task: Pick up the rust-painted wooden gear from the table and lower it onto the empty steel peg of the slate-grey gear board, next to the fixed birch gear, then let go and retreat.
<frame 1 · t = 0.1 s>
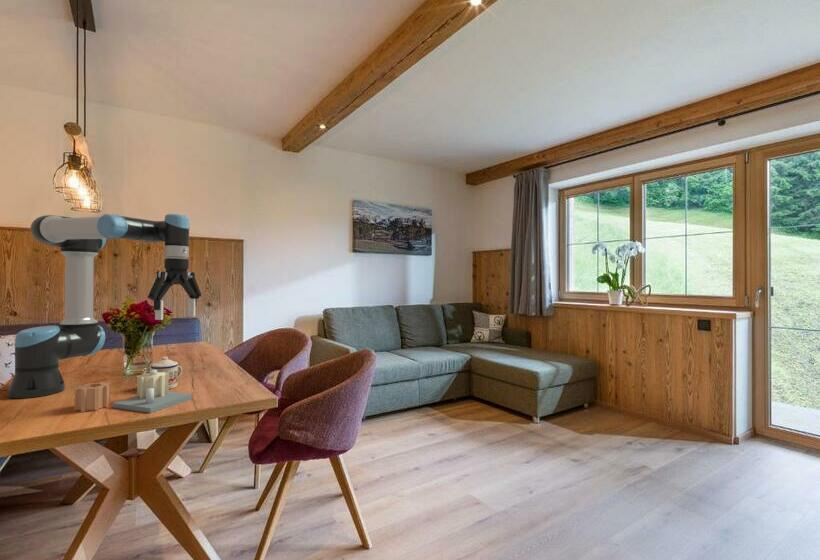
hand: (176, 318, 143), 28 cm above the table, tool pointing down, fingers open, 13 cm apart
gear board: (153, 402, 135), on the table
teacup with lid: (167, 387, 155), on the table
loose gear: (92, 407, 130), on the table
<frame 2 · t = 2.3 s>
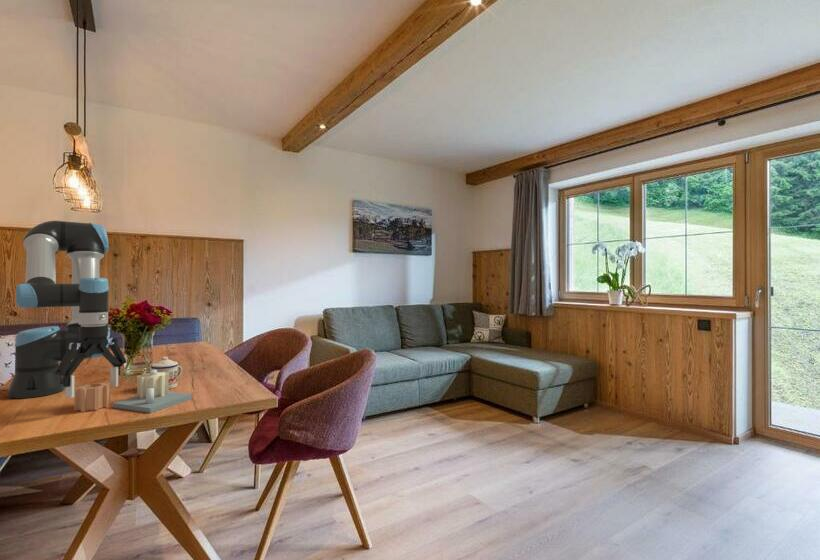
hand: (93, 391, 129), 5 cm above the table, tool pointing down, fingers open, 13 cm apart
nothing on the table moved.
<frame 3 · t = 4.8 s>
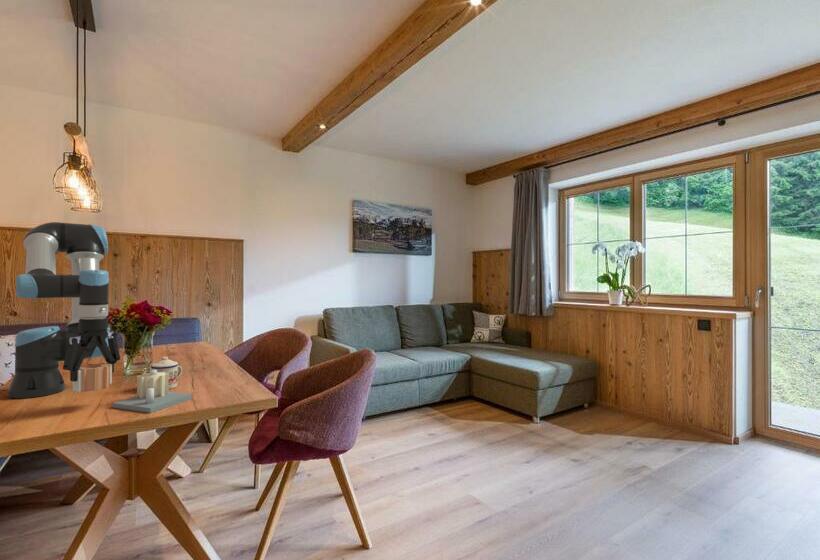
hand: (92, 386, 130), 6 cm above the table, tool pointing down, fingers closed on loose gear, 9 cm apart
loose gear: (92, 387, 130), point 6 cm above the table, touching gripper
everything else where it was.
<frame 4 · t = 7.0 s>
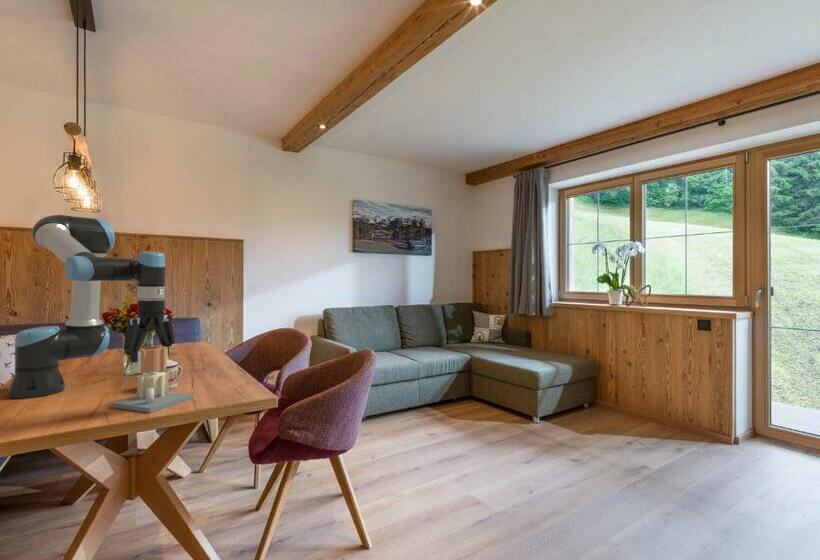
hand: (150, 369, 131), 13 cm above the table, tool pointing down, fingers closed on loose gear, 9 cm apart
loose gear: (150, 369, 131), point 12 cm above the table, touching gripper
everything else where it was.
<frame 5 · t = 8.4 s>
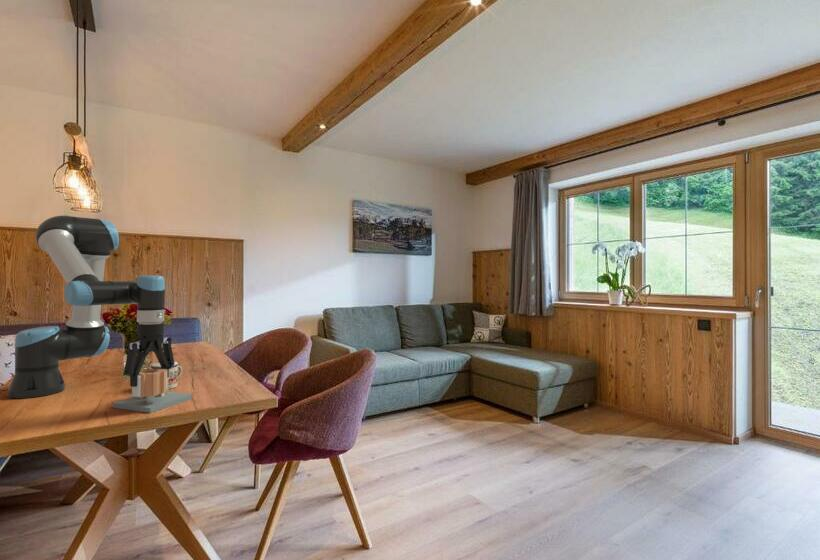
hand: (150, 392, 131), 5 cm above the table, tool pointing down, fingers closed on loose gear, 9 cm apart
loose gear: (150, 392, 131), point 5 cm above the table, touching gripper
everything else where it was.
when the fingers open (3 cm above the table, at t = 9.4 s): loose gear drops 1 cm, resting on gear board.
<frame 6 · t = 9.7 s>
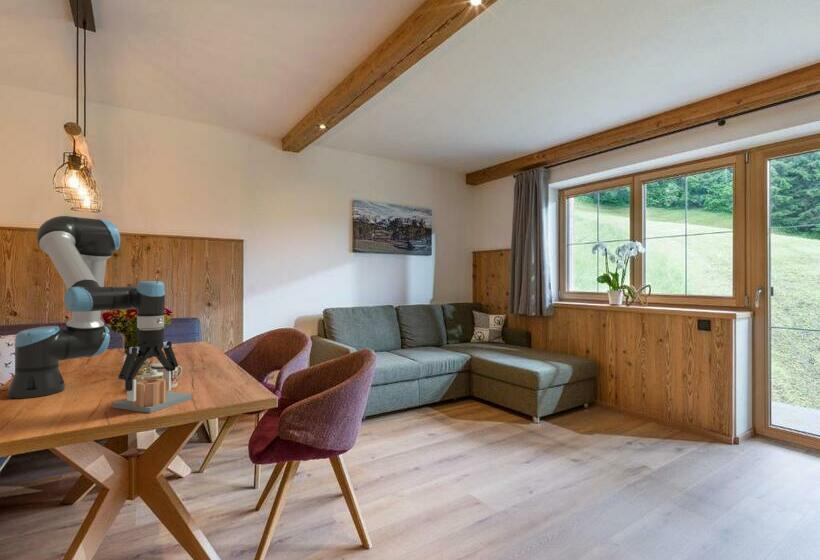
hand: (150, 395, 131), 4 cm above the table, tool pointing down, fingers open, 12 cm apart
loose gear: (149, 402, 131), point 1 cm above the table, touching gear board
everything else where it was.
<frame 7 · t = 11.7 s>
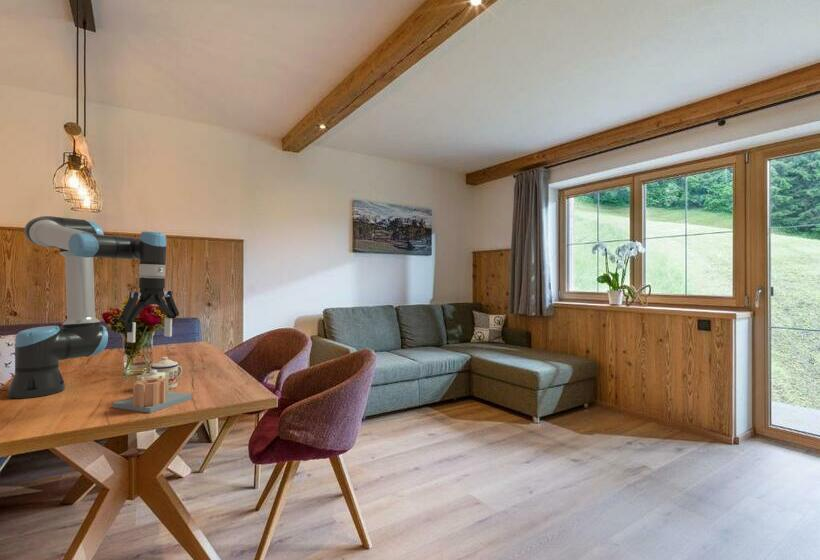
hand: (150, 339, 137), 21 cm above the table, tool pointing down, fingers open, 13 cm apart
nothing on the table moved.
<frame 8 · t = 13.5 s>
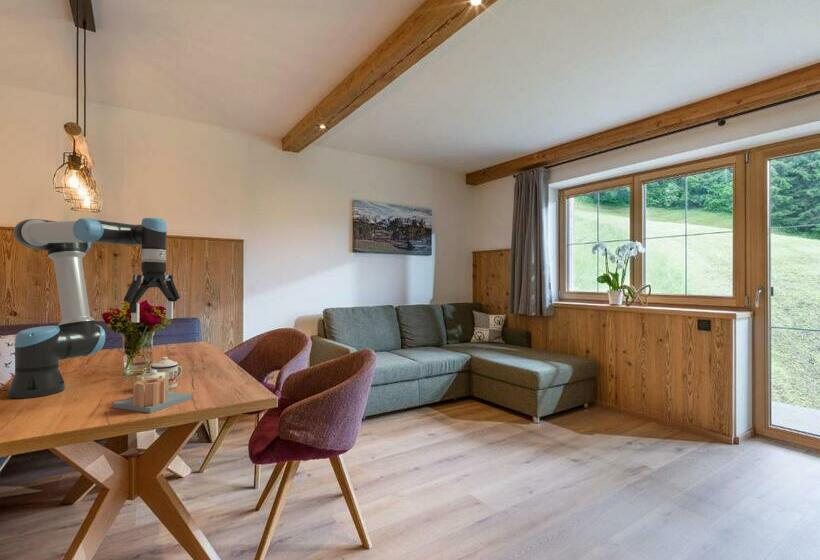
hand: (153, 320, 145), 27 cm above the table, tool pointing down, fingers open, 13 cm apart
nothing on the table moved.
at the end: loose gear 0.1 cm from the target spot, point 1.5 cm above the table; loose gear tilted 0°; the gripper is holding nothing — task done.
